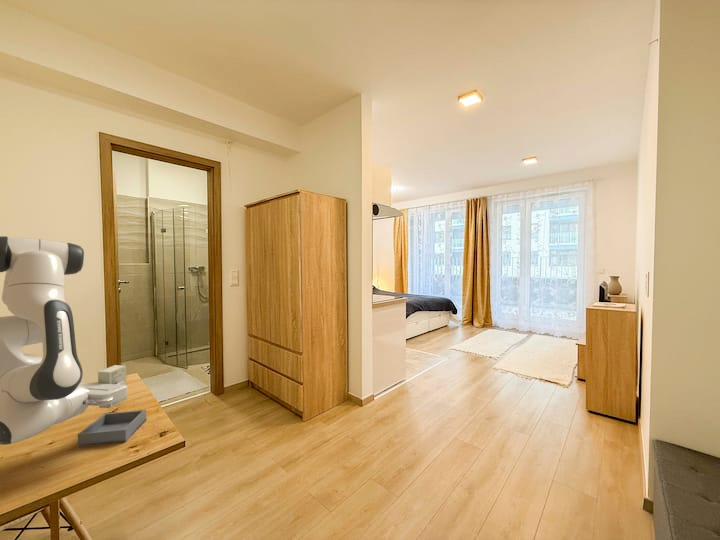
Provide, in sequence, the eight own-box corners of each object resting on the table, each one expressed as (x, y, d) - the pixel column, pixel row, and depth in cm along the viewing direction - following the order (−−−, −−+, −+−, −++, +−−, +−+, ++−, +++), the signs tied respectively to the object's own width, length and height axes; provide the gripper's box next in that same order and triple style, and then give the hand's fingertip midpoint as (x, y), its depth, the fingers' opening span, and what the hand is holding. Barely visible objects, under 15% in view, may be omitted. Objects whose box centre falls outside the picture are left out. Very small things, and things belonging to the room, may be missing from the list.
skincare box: (116, 399, 101) (115, 364, 101) (128, 399, 101) (127, 365, 100) (98, 408, 95) (96, 371, 95) (110, 409, 94) (109, 371, 94)
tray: (77, 447, 91) (77, 434, 91) (104, 424, 103) (104, 413, 103) (125, 442, 93) (125, 429, 93) (146, 420, 106) (146, 409, 106)
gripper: (101, 393, 83) (143, 374, 97) (40, 389, 86) (89, 371, 100) (101, 415, 84) (143, 393, 97) (40, 410, 86) (89, 390, 100)
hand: (115, 382), depth 99 cm, fingers closed on skincare box, 4 cm apart
